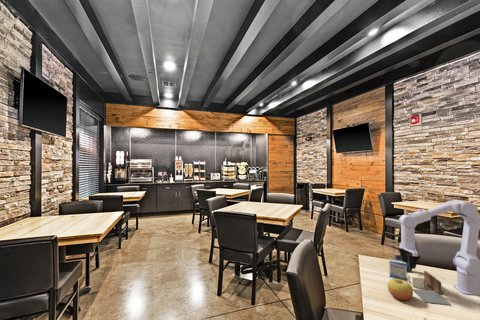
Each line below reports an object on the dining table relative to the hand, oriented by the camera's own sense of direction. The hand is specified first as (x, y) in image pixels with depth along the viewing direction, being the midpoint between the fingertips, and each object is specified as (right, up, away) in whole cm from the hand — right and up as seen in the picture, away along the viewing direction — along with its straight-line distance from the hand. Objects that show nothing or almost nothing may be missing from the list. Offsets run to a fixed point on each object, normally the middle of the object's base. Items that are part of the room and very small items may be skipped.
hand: (408, 265), depth 119 cm
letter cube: (+3, -10, 0) cm, 11 cm away
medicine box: (0, -11, +9) cm, 14 cm away
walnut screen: (+10, -10, -3) cm, 14 cm away
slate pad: (+2, -10, -11) cm, 15 cm away
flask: (+9, -11, +17) cm, 22 cm away
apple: (-12, -10, -11) cm, 20 cm away
